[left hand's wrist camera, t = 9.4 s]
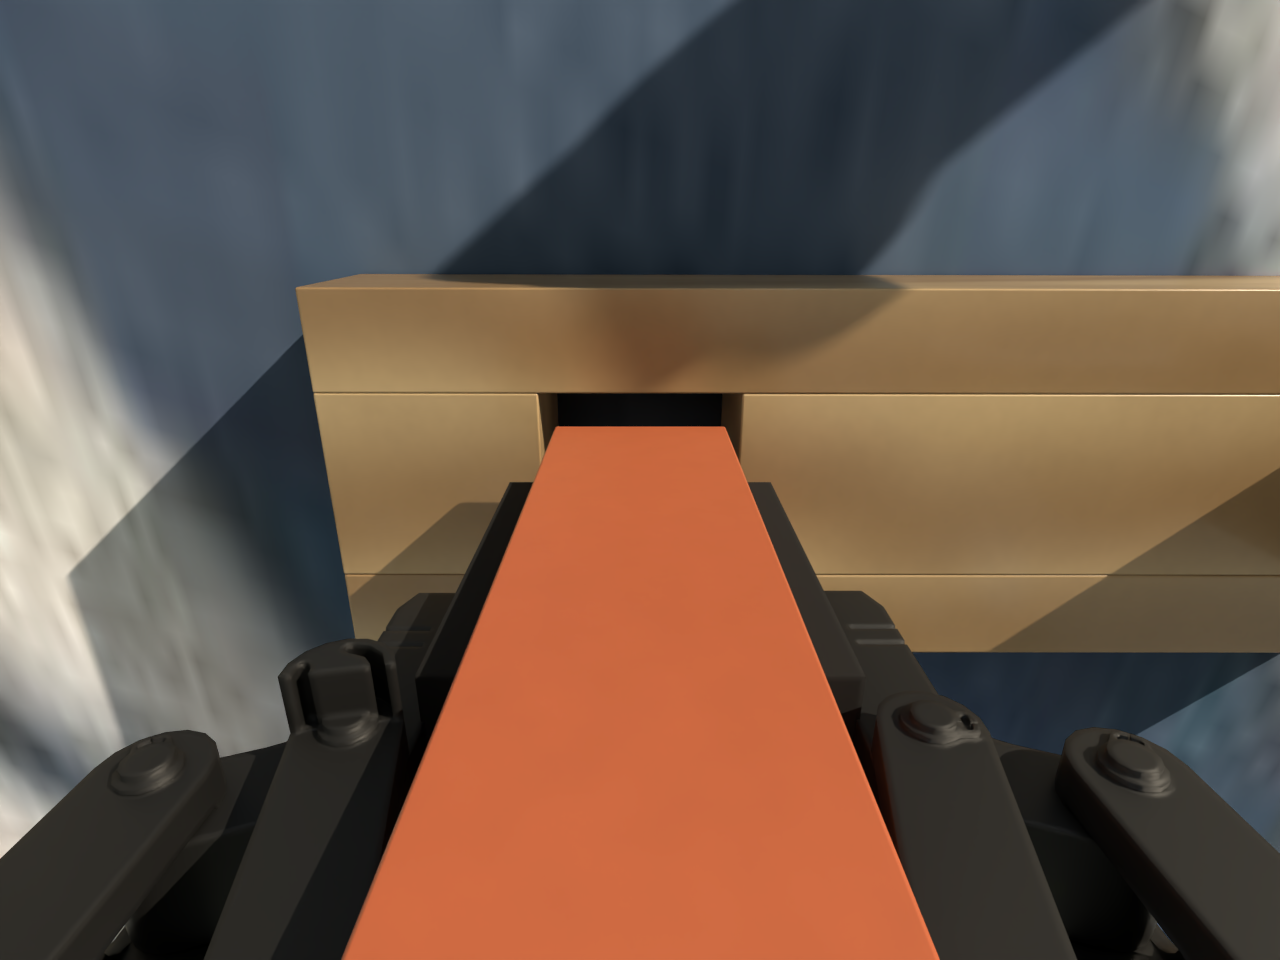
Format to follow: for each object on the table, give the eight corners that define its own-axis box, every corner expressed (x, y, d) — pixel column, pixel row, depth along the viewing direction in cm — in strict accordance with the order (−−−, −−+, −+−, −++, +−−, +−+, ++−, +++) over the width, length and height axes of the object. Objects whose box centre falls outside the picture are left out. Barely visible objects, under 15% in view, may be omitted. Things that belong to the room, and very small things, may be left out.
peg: (554, 425, 16) (184, 1334, 3) (725, 425, 16) (1095, 1334, 3) (561, 576, 18) (330, 1636, 4) (718, 576, 18) (949, 1636, 4)
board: (359, 273, 20) (-13, 349, 8) (1548, 276, 20) (2748, 354, 8) (402, 582, 23) (181, 924, 12) (1407, 583, 23) (2124, 924, 12)
